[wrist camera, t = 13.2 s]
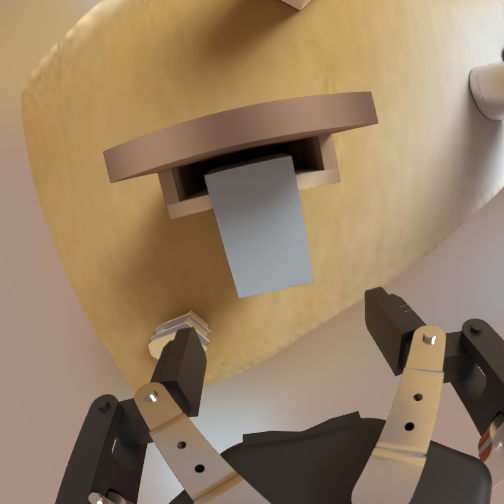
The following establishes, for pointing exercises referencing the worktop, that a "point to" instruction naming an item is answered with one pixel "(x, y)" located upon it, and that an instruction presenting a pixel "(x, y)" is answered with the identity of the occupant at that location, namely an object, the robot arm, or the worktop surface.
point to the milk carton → (297, 3)
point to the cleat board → (242, 144)
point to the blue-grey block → (261, 223)
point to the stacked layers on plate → (170, 328)
